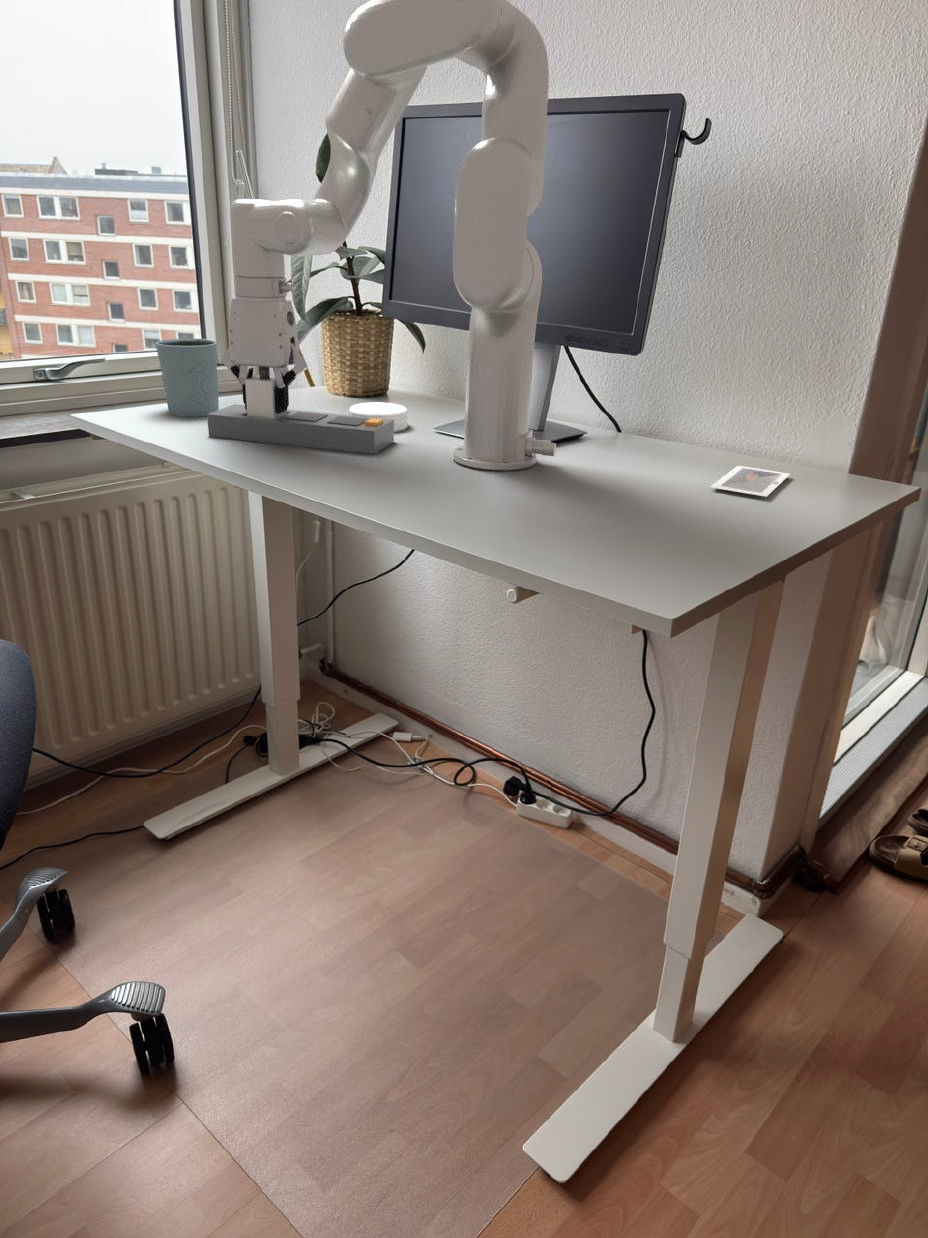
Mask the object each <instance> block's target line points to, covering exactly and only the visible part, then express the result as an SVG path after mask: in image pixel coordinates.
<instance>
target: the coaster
mask: <svg viewBox="0 0 928 1238" xmlns="http://www.w3.org/2000/svg"><path fill="white" fill-rule="evenodd" d="M408 412H409V410H408V409H407V407H405V406H404V405H401V404H399V403H398V404H397V403H391V402H382V401H381V402H377V401H375V402H374V401H373V402H361V403H356V404H353V405H351V406H350V408H349V414H350V415H351V416H361V417H371V418H381V419H391V420H394V433H399V432H401V431H402V432H403V431H404V430H407V428H408V419H409V418H408Z"/></svg>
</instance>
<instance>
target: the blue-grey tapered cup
mask: <svg viewBox="0 0 928 1238" xmlns="http://www.w3.org/2000/svg"><path fill="white" fill-rule="evenodd" d="M155 347H156V351H157V356H158V361H159V365H160V372H161V377H162V382H163V388H164V390H165V391H164V392H165V394H166V395H165V399H166V404H167V409H168V413H169V414H170V415H173V416H177V417H188V418H189V417H193V418H195V417H206V416H207V414H209V413H212V412H215V411H217V410H220V405H219V404H220V403H219V374H218V343H217V340H213V339H206V338H175V339H171V338H170V339H164V340H162V339H161V340H158V341H156V343H155Z"/></svg>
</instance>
